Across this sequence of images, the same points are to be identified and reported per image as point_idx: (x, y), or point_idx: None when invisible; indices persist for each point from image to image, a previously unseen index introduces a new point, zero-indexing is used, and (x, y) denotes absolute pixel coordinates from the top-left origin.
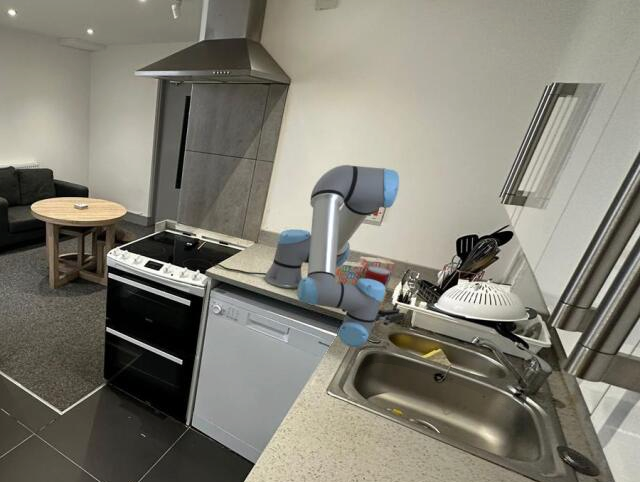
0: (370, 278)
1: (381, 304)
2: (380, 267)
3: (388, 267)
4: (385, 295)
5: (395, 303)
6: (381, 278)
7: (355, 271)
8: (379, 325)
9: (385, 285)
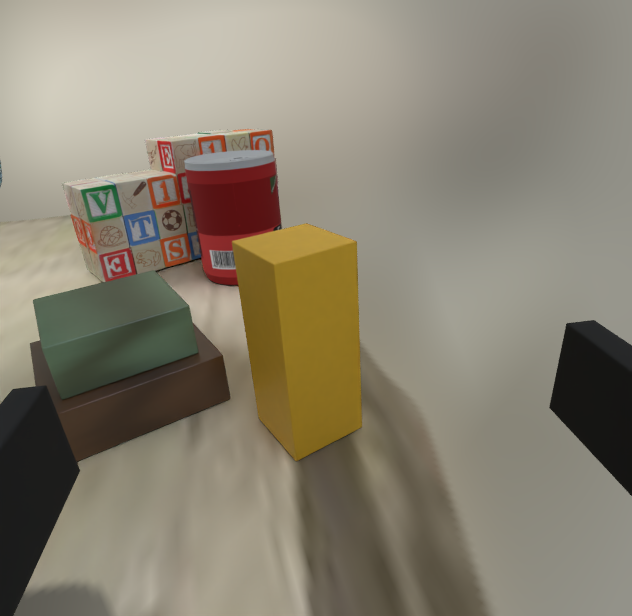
0: (213, 207)
1: (353, 344)
2: None
3: (256, 149)
4: (354, 268)
5: (586, 338)
6: (255, 189)
7: (148, 204)
8: (453, 569)
9: None
